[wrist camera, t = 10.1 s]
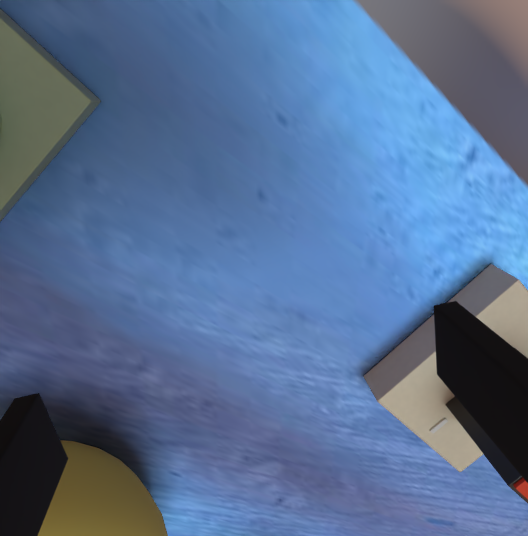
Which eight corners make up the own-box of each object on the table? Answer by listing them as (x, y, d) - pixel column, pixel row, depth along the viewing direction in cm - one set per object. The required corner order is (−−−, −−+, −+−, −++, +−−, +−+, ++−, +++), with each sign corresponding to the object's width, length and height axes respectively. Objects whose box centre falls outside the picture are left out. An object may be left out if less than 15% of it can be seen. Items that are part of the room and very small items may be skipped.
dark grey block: (513, 347, 30) (603, 419, 23) (530, 365, 30) (622, 440, 24) (444, 404, 31) (511, 489, 24) (462, 420, 31) (531, 507, 25)
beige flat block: (490, 262, 31) (519, 279, 28) (562, 347, 34) (595, 370, 31) (362, 375, 33) (377, 402, 30) (441, 444, 36) (462, 475, 33)
